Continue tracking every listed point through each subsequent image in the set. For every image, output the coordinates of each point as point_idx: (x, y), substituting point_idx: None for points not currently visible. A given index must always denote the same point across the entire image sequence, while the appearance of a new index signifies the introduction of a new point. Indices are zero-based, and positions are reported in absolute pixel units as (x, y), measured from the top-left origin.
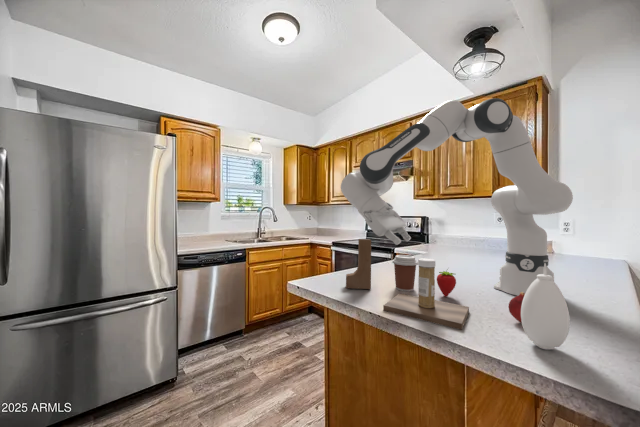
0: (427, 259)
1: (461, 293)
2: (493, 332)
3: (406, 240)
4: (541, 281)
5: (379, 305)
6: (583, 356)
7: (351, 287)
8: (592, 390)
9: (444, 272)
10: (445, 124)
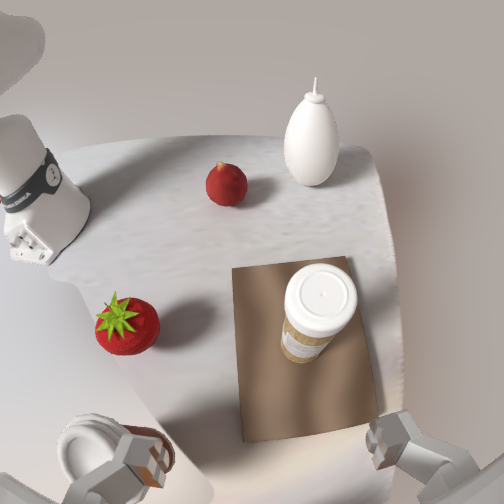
0: (320, 291)
1: None
2: (309, 225)
3: (167, 458)
4: (326, 104)
5: (348, 446)
6: None
7: None
8: (368, 159)
9: (115, 323)
10: None
